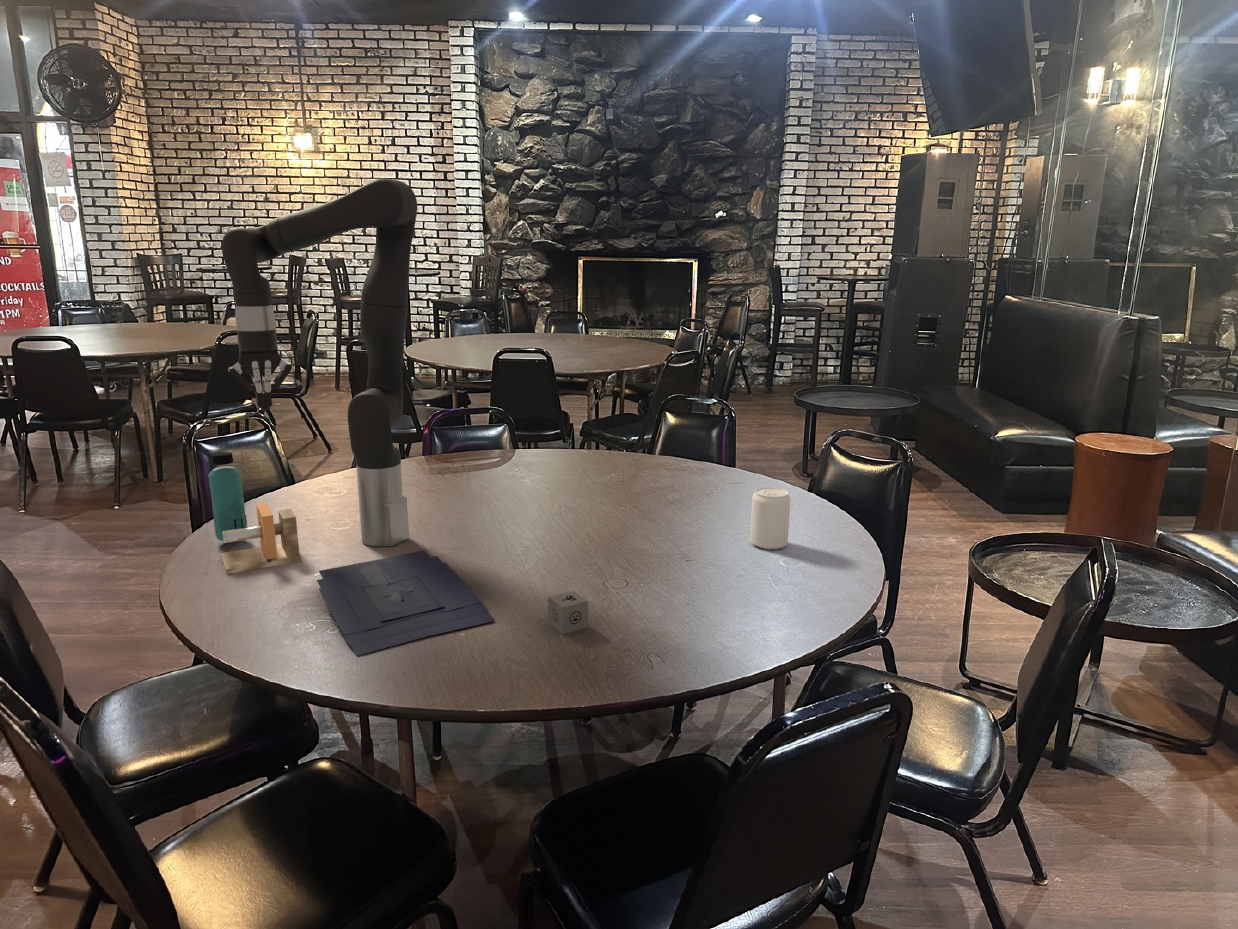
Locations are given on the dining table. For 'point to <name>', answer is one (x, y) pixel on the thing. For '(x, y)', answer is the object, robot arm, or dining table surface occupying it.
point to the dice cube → (568, 612)
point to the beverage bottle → (226, 495)
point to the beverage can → (770, 518)
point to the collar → (267, 531)
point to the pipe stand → (256, 556)
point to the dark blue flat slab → (398, 600)
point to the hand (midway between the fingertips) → (264, 409)
